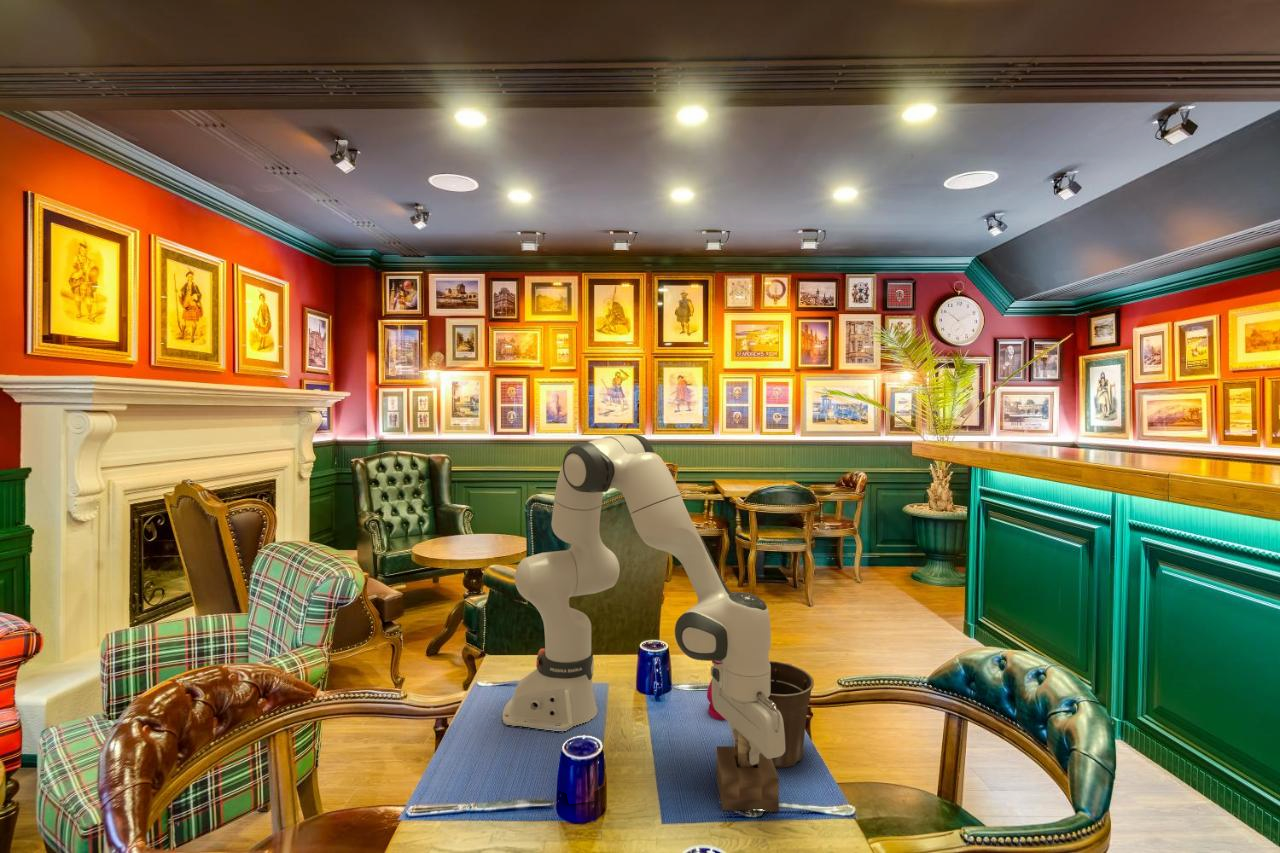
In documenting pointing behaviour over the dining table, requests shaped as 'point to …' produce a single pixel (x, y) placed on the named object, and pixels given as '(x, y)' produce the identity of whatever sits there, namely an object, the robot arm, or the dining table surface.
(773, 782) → the bore block
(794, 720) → the plant pot
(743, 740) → the pin
